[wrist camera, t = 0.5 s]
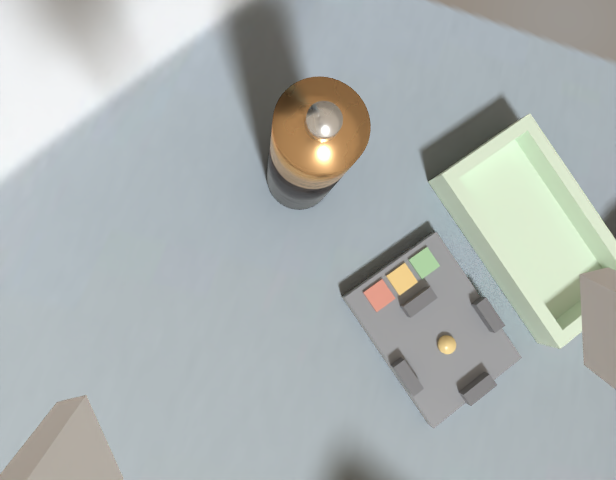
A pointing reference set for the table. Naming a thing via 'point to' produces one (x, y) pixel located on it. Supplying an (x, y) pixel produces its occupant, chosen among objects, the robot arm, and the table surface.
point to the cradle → (433, 329)
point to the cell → (314, 140)
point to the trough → (529, 227)
